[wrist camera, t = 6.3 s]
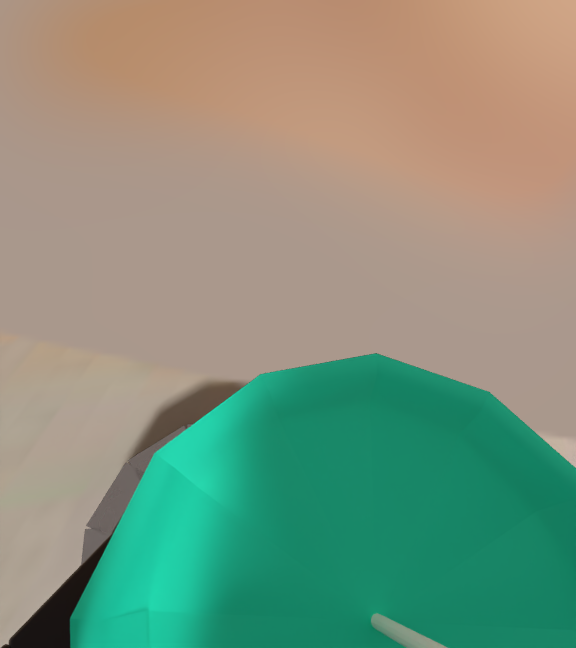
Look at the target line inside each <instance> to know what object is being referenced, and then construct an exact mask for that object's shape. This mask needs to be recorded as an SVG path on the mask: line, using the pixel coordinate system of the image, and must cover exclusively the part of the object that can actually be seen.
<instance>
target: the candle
mask: <svg viewBox="0 0 576 648" xmlns="http://www.w3.org/2000/svg"><path fill="white" fill-rule="evenodd" d="M70 648H576V468H575V467H574V466H573V465H571V464H570V463H569V462H568V461H567V460H566V459H565V458H564V457H562V456H561V455H560V454H559V453H558V452H557V451H556V450H554V449H553V448H552V447H551V446H550V445H549V444H548V443H547V442H545V441H544V440H543V439H542V438H541V437H540V436H539V435H537V434H536V433H535V432H534V431H533V430H532V429H531V428H530V427H528V426H527V425H526V424H525V423H524V422H523V421H522V420H520V419H519V418H518V417H517V416H516V415H515V414H514V413H512V412H511V411H510V410H509V409H508V408H507V407H506V406H505V405H503V404H502V403H501V402H500V401H499V400H498V399H497V398H496V397H494V396H493V395H492V394H491V393H490V392H488V391H485V390H482V389H479V388H476V387H473V386H470V385H467V384H464V383H461V382H458V381H456V380H453V379H450V378H447V377H444V376H441V375H438V374H435V373H432V372H429V371H426V370H424V369H421V368H418V367H415V366H412V365H409V364H406V363H403V362H400V361H397V360H394V359H391V358H388V357H385V356H383V355H380V354H377V353H375V354H370V355H364V356H358V357H353V358H347V359H343V360H336V361H331V362H325V363H320V364H315V365H309V366H303V367H298V368H292V369H286V370H281V371H275V372H270V373H264V374H260V375H259V376H258V377H256V378H255V379H253V380H252V381H251V382H249V383H248V384H247V385H245V386H244V387H243V388H241V389H240V390H239V391H237V392H236V393H235V394H233V395H232V396H231V397H229V398H228V399H227V400H225V401H224V402H223V403H221V404H220V405H218V406H217V407H216V408H214V409H213V410H212V411H210V412H209V413H208V414H206V415H205V416H204V417H202V418H201V419H200V420H198V421H197V422H196V423H194V424H193V425H192V426H190V427H189V428H188V429H186V430H185V431H183V432H182V433H181V434H179V435H178V436H177V437H175V438H174V439H173V440H171V441H170V442H169V443H167V444H166V445H165V446H163V447H162V448H161V449H159V450H158V451H157V452H155V453H154V455H153V457H152V459H151V461H150V463H149V465H148V467H147V469H146V471H145V473H144V475H143V477H142V479H141V481H140V483H139V484H138V486H137V488H136V490H135V492H134V494H133V496H132V498H131V500H130V502H129V504H128V506H127V508H126V510H125V512H124V514H123V516H122V518H121V520H120V522H119V524H118V526H117V528H116V529H115V531H114V533H113V535H112V537H111V539H110V541H109V543H108V545H107V547H106V549H105V551H104V553H103V555H102V557H101V559H100V561H99V563H98V565H97V567H96V569H95V571H94V572H93V574H92V576H91V578H90V580H89V582H88V584H87V586H86V588H85V590H84V592H83V594H82V596H81V598H80V600H79V602H78V604H77V606H76V608H75V610H74V612H73V614H72V616H71V617H70Z"/></svg>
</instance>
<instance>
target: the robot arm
mask: <svg viewBox="0 0 576 648" xmlns="http://www.w3.org/2000/svg"><path fill="white" fill-rule="evenodd" d="M113 533H114V532H113ZM113 533H112V534H111V535H110V536H109V537H108V538H107V539H106V540H105V541H104V542H103V543H102V544H101V545H100V546H99V547H98V548H97V549H96V550H95V551H94V552H93V553H92V554H91V556H90V557H89V558H88V559H87V560H86V561H85V562H84V563H83V564H82V565H81V566H80V567H79V568H78V569H77V570H76V571H75V572H74V573H73V574H72V575H71V576H70V577H69V578H68V579H67V580H66V581H65V582H64V583H63V584H62V586H61V587H60V588H59V589H58V590H57V591H56V592H55V593H54V594H53V595H52V596H51V597H50V598H49V599H48V600H47V601H46V602H45V603H44V604H43V605H42V606H41V607H40V608H39V609H38V610H37V611H36V612H35V613H34V615H33V616H32V617H31V618H30V619H29V620H28V621H27V622H26V623H25V624H24V625H23V626H22V627H21V628H20V629H19V630H18V631H17V632H16V633H15V634H14V635H13V636H12V637H11V638H10V640H9V645H7V644H5V645H3V646H2V647H1V648H70V617H71V616H72V614H73V612H74V610H75V608H76V606H77V604H78V602H79V600H80V598H81V596H82V594H83V592H84V590H85V588H86V586H87V584H88V582H89V580H90V578H91V576H92V574H93V572H94V571H95V569H96V567H97V565H98V563H99V561H100V559H101V557H102V555H103V553H104V551H105V549H106V547H107V545H108V543H109V541H110V539H111V537H112V535H113Z"/></svg>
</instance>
